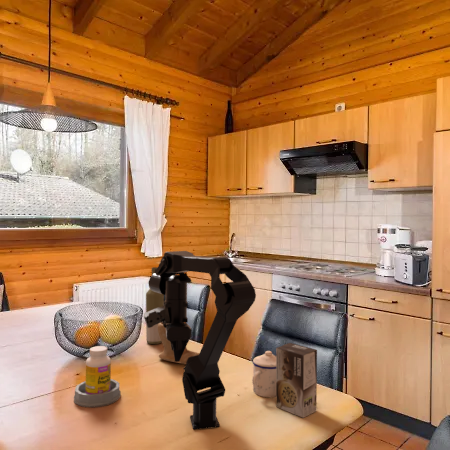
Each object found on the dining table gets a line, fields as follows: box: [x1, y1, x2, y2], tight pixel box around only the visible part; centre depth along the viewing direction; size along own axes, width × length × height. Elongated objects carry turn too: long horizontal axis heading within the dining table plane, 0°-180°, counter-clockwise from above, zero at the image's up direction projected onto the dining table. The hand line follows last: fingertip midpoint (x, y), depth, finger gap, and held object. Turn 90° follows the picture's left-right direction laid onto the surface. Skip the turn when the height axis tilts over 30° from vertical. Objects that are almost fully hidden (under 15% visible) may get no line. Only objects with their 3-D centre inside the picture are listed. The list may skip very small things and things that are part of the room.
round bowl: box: [73, 378, 122, 408], centre depth 117 cm, size 12×12×3 cm
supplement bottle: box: [85, 345, 112, 394], centre depth 117 cm, size 7×7×13 cm
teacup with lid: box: [251, 350, 276, 398], centre depth 121 cm, size 12×9×12 cm
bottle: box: [145, 266, 165, 345], centre depth 167 cm, size 7×7×30 cm
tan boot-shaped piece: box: [158, 322, 200, 365], centre depth 147 cm, size 15×12×15 cm
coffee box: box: [275, 342, 318, 418], centre depth 111 cm, size 9×6×16 cm
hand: (175, 355), depth 113 cm, fingers open, 9 cm apart
